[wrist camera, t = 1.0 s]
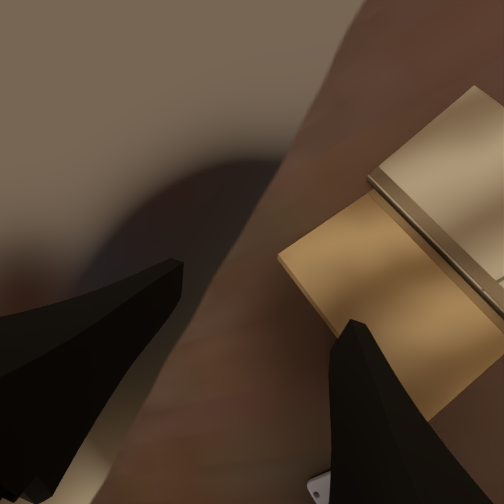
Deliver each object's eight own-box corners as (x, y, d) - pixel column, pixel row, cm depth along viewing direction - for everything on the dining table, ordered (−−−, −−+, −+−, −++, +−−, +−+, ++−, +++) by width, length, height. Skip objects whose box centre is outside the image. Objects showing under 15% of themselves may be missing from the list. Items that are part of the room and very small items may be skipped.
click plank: (503, 337, 16) (522, 338, 15) (403, 425, 15) (415, 433, 14) (367, 196, 20) (374, 188, 19) (277, 258, 19) (278, 253, 17)
